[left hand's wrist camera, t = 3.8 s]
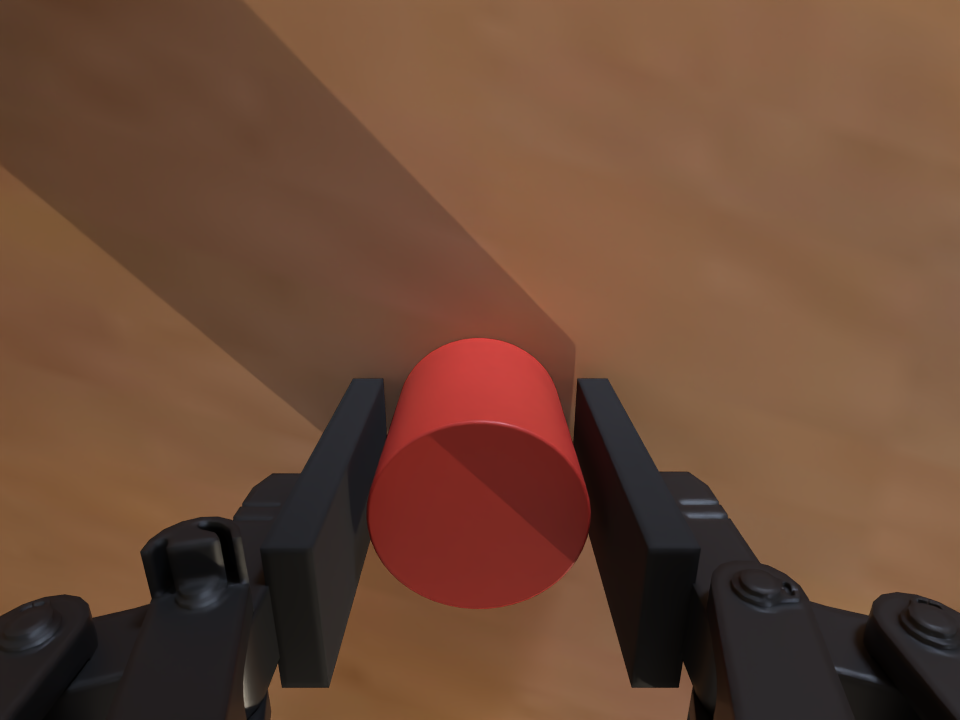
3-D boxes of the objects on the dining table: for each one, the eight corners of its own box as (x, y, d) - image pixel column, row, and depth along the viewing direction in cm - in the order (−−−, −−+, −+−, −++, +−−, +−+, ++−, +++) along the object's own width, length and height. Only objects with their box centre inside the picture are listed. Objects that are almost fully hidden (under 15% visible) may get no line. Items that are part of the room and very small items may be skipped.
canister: (368, 381, 15) (321, 480, 10) (516, 308, 14) (532, 382, 10) (446, 504, 16) (434, 638, 12) (584, 443, 15) (626, 561, 11)
